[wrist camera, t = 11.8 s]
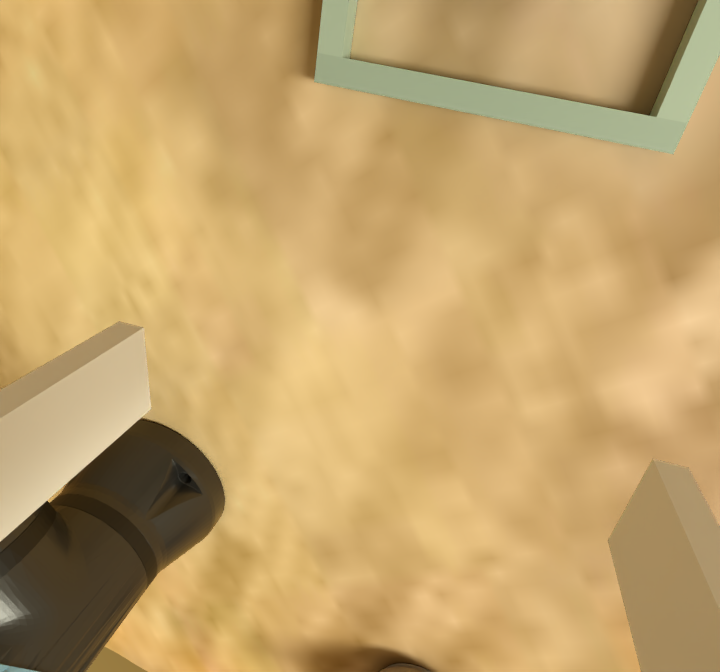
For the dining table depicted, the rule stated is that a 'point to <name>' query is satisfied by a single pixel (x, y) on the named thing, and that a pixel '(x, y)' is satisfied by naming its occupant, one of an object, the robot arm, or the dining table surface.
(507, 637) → the dining table surface
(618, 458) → the dining table surface
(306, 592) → the dining table surface
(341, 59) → the bay
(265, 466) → the dining table surface
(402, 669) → the coffee pot
